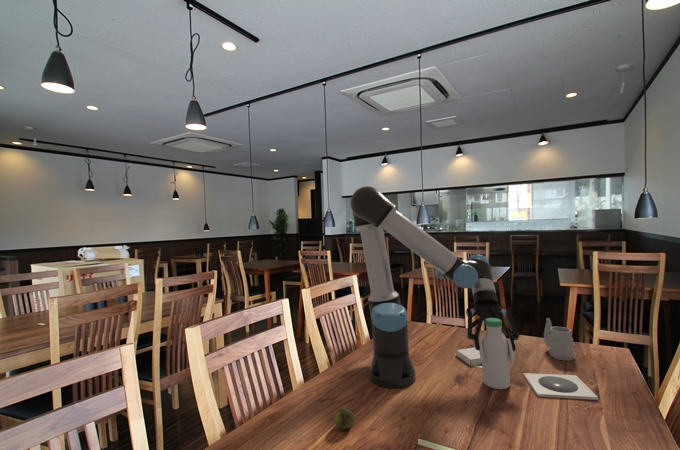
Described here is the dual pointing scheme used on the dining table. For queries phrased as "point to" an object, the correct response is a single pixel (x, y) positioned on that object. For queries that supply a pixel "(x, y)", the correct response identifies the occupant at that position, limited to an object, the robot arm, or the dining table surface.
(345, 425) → the lime
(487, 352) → the milk bottle
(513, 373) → the dining table surface
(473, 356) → the white block with labels
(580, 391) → the pad
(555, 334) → the mug
